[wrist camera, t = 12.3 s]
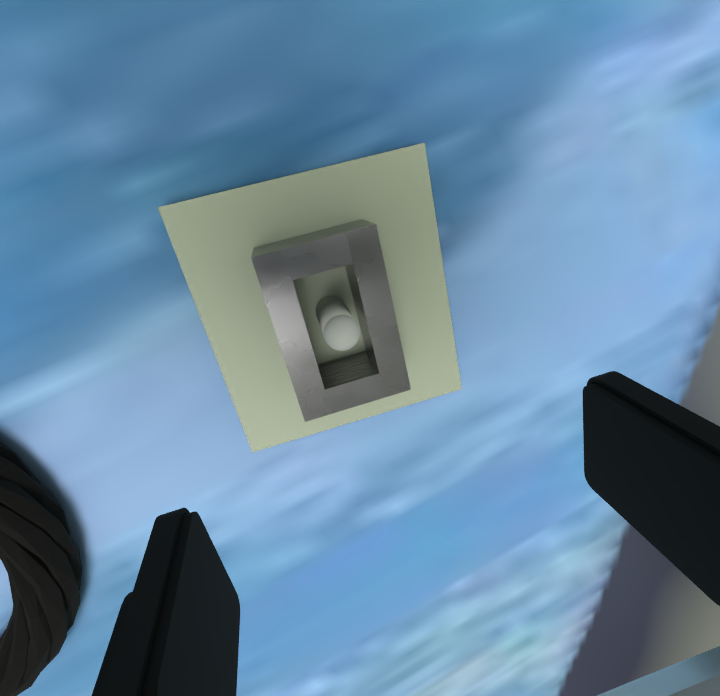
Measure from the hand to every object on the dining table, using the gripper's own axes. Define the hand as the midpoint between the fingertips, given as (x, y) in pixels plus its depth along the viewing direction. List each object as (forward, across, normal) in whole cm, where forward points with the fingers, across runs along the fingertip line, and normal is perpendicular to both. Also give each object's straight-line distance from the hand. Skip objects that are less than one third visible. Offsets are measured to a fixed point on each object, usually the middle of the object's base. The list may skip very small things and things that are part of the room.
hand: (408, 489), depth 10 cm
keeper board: (+18, 0, 0) cm, 18 cm away
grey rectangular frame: (+16, 0, 0) cm, 16 cm away
